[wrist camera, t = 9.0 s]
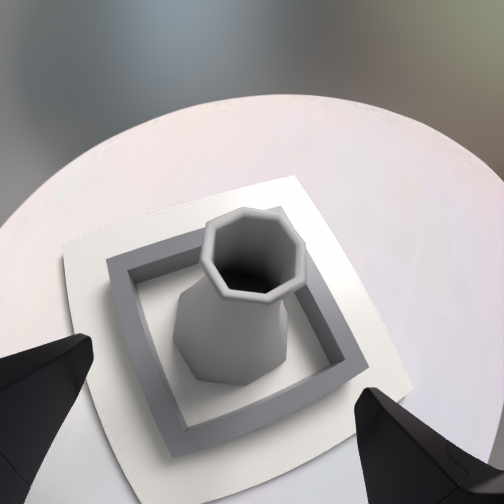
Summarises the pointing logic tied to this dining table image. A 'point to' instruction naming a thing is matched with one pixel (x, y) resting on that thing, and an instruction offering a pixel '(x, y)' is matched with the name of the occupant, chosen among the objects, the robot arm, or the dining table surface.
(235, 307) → the flask
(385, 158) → the dining table surface
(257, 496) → the dining table surface
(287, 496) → the dining table surface
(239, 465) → the collar board
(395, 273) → the dining table surface
